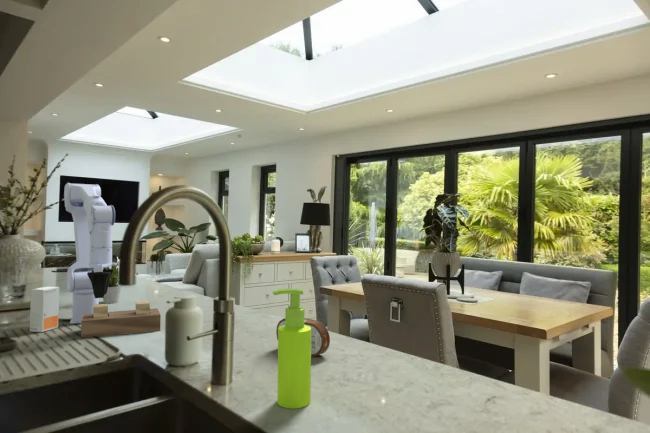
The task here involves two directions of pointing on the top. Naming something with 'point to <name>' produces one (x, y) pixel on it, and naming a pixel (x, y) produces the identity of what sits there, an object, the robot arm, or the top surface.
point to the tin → (314, 336)
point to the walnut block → (120, 323)
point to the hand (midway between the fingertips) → (100, 296)
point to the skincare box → (44, 309)
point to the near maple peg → (100, 310)
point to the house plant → (112, 287)
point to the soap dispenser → (294, 355)
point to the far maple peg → (142, 307)
